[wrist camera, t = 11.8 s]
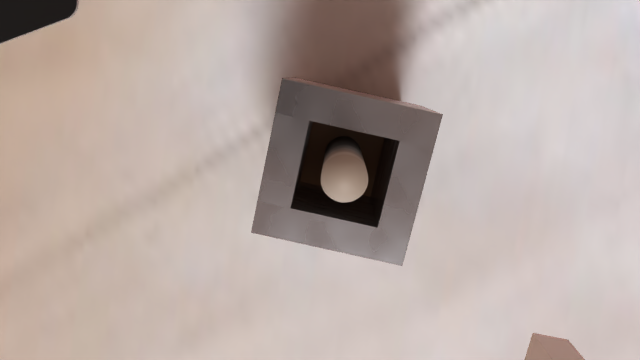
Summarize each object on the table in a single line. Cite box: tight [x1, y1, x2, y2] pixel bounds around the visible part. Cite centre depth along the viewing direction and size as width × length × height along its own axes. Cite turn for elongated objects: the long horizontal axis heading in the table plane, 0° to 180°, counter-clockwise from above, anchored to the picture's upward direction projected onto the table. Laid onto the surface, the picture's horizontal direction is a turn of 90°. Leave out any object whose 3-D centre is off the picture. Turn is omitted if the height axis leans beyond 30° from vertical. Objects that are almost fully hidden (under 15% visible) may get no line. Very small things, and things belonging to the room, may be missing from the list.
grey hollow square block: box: [251, 77, 443, 266], centre depth 26 cm, size 7×7×6 cm
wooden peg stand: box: [300, 122, 385, 202], centre depth 28 cm, size 6×6×11 cm
